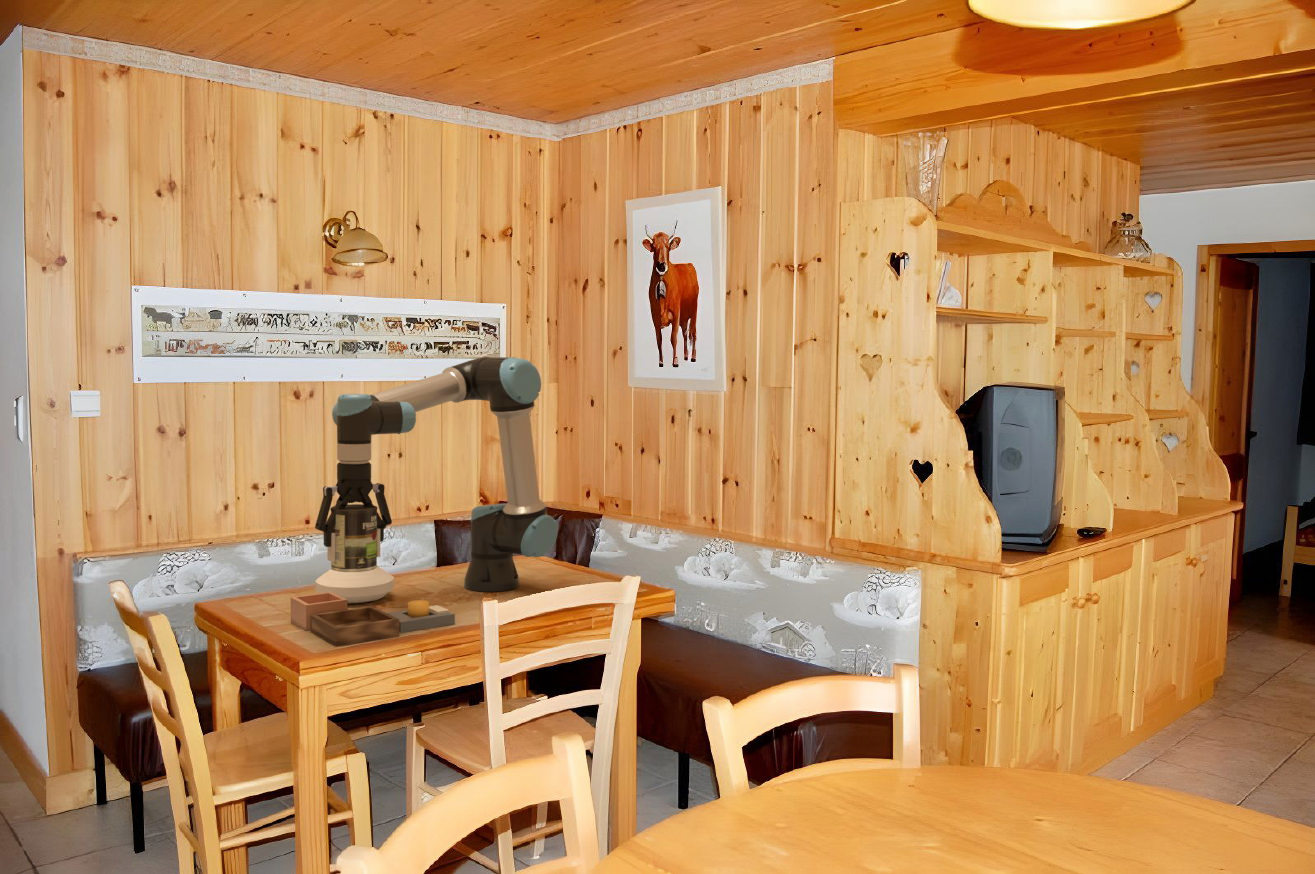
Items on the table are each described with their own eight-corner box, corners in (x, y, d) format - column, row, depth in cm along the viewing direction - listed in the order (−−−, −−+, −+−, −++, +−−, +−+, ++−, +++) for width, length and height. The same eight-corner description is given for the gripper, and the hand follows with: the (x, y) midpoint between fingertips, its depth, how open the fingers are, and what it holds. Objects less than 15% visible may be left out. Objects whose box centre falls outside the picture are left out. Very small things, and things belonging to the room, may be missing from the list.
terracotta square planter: (331, 615, 258) (331, 591, 257) (347, 624, 250) (347, 599, 250) (290, 621, 252) (290, 597, 251) (306, 630, 244) (305, 605, 243)
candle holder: (315, 592, 283) (314, 521, 281) (391, 588, 289) (391, 519, 287) (315, 609, 264) (314, 534, 262) (396, 605, 270) (396, 531, 268)
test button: (423, 615, 255) (423, 599, 255) (432, 619, 252) (432, 603, 251) (404, 618, 252) (404, 601, 252) (413, 622, 248) (413, 606, 248)
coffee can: (385, 564, 245) (385, 505, 244) (364, 573, 235) (364, 511, 234) (344, 562, 247) (344, 502, 246) (322, 570, 237) (321, 508, 236)
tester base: (435, 615, 260) (435, 603, 260) (454, 624, 252) (454, 611, 252) (382, 623, 251) (382, 610, 251) (400, 632, 244) (400, 619, 243)
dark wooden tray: (371, 622, 252) (371, 606, 252) (399, 636, 241) (399, 619, 241) (310, 631, 243) (310, 614, 243) (335, 646, 231) (335, 628, 231)
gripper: (393, 458, 249) (393, 550, 250) (298, 462, 235) (299, 560, 236) (407, 461, 243) (407, 555, 245) (311, 465, 229) (311, 566, 230)
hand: (354, 558), depth 240 cm, fingers closed on coffee can, 10 cm apart
